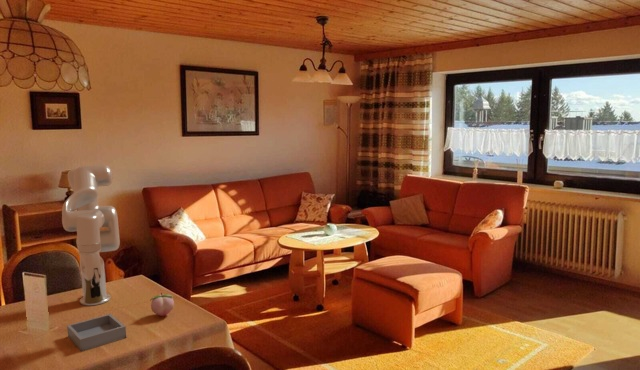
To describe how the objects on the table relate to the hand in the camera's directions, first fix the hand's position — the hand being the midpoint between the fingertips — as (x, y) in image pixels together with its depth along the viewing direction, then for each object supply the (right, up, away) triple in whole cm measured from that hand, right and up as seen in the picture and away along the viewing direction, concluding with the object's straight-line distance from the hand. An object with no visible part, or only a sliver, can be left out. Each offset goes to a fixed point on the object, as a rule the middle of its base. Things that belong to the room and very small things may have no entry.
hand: (93, 294), depth 187 cm
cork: (0, -3, 0) cm, 2 cm away
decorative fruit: (+19, -14, +22) cm, 32 cm away
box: (0, -17, +2) cm, 17 cm away
